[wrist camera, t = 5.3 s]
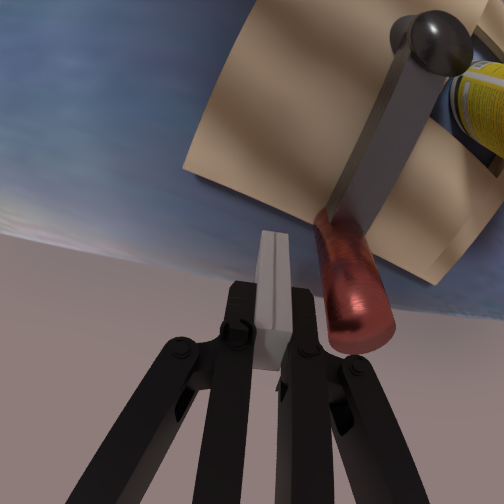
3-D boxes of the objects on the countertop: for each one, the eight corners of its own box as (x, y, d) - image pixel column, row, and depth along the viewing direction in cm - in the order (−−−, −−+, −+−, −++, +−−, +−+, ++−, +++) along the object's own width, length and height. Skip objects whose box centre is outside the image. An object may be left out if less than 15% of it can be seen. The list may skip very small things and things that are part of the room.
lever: (404, 3, 11) (503, -19, 3) (455, 36, 11) (564, 49, 4) (301, 233, 20) (310, 346, 13) (349, 249, 21) (375, 359, 13)
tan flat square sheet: (326, -103, 8) (331, -116, 6) (553, 82, 12) (569, 88, 10) (188, 160, 20) (180, 170, 18) (429, 273, 24) (436, 288, 22)
